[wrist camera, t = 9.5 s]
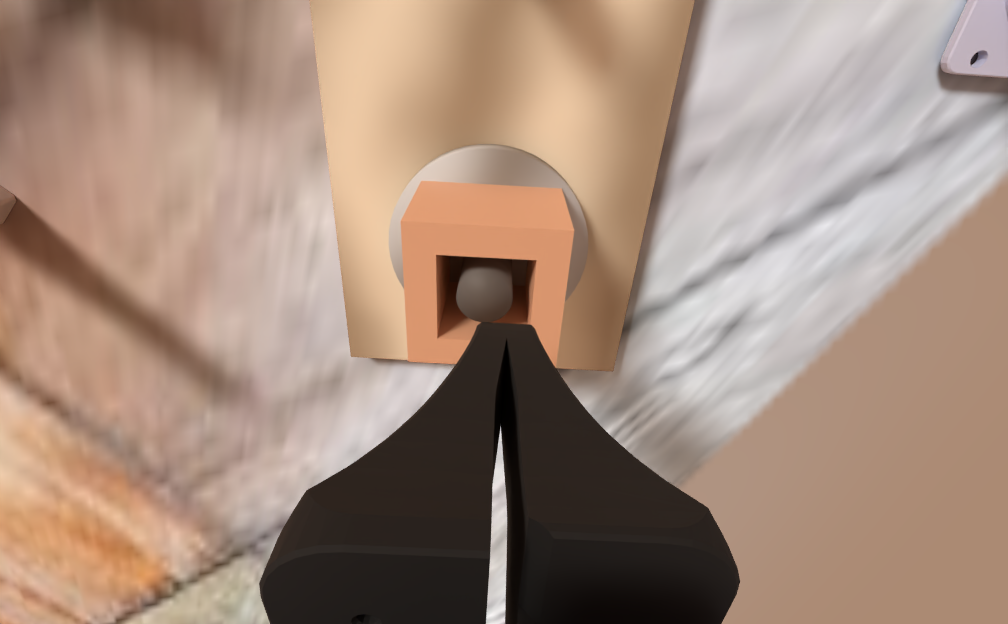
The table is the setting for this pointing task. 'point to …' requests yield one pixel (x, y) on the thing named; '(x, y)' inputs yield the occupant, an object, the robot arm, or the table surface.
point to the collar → (482, 233)
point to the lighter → (5, 203)
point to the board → (496, 143)
